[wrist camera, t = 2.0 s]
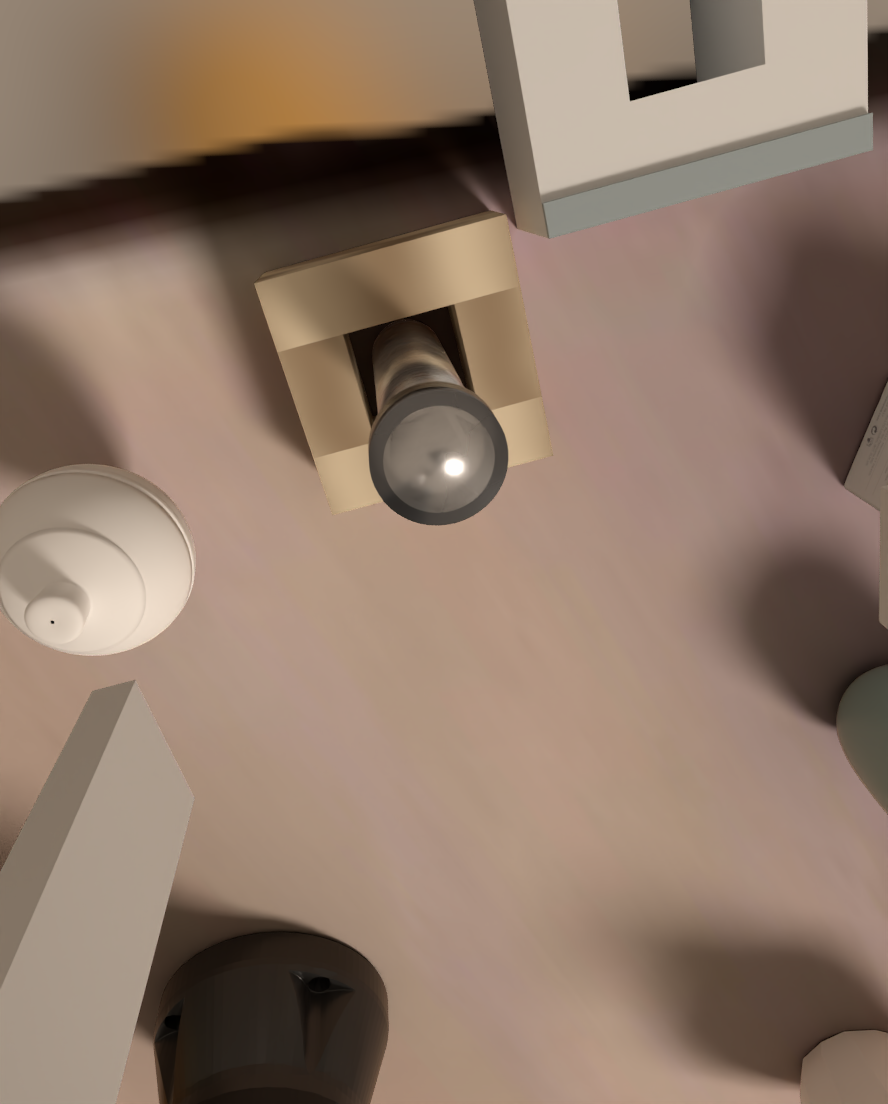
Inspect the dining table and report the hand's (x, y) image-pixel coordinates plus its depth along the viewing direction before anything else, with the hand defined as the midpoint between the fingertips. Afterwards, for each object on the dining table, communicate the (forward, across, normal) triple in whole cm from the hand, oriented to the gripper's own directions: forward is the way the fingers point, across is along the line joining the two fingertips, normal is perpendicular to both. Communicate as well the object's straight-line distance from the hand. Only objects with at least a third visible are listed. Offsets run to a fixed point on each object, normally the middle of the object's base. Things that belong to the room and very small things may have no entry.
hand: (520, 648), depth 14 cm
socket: (+25, +11, +10) cm, 29 cm away
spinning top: (+25, -14, -3) cm, 29 cm away
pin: (+25, 0, 0) cm, 25 cm away
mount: (+25, 0, 0) cm, 25 cm away
